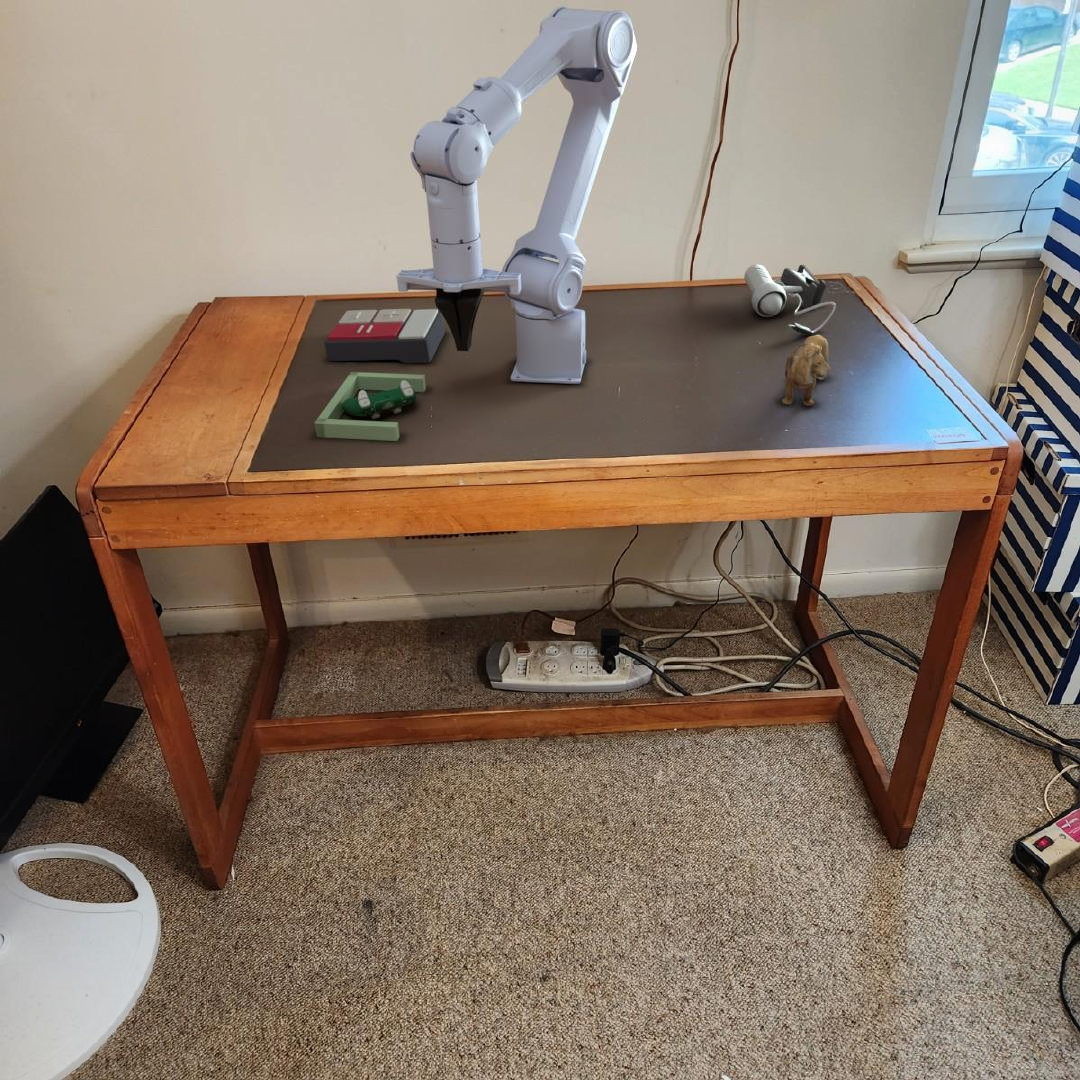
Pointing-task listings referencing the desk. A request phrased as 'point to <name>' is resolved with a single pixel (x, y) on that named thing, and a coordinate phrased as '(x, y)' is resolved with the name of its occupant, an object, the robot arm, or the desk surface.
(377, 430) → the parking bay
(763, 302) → the clip-on lamp
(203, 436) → the desk surface
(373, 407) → the gaming controller
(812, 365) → the lion figurine
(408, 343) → the calculator
